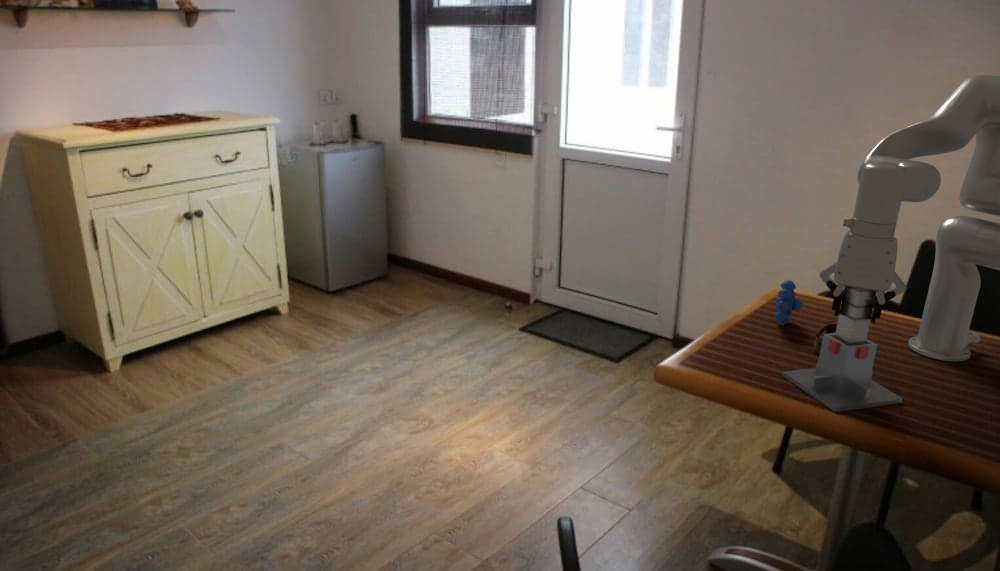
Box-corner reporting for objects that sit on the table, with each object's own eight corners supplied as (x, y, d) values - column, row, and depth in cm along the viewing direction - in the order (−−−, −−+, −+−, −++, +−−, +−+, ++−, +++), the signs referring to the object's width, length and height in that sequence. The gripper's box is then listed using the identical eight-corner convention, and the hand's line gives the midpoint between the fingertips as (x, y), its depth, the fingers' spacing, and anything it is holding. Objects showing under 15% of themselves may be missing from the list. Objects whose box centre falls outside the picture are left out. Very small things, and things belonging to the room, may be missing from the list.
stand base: (844, 368, 162) (854, 321, 159) (901, 402, 148) (913, 352, 144) (782, 376, 158) (790, 327, 154) (834, 412, 143) (845, 359, 140)
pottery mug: (868, 365, 166) (861, 338, 162) (825, 378, 169) (816, 351, 165) (850, 332, 176) (843, 306, 172) (809, 344, 179) (801, 319, 175)
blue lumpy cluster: (795, 336, 179) (804, 289, 175) (766, 330, 182) (774, 283, 178) (803, 321, 188) (811, 276, 184) (775, 315, 191) (783, 271, 188)
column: (844, 365, 154) (862, 279, 148) (860, 374, 150) (878, 286, 144) (827, 367, 153) (844, 280, 147) (842, 377, 149) (860, 287, 143)
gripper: (821, 226, 142) (806, 314, 148) (924, 240, 135) (903, 333, 141) (825, 218, 149) (810, 303, 155) (924, 231, 141) (903, 320, 147)
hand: (854, 316), depth 148 cm, fingers closed on column, 6 cm apart
